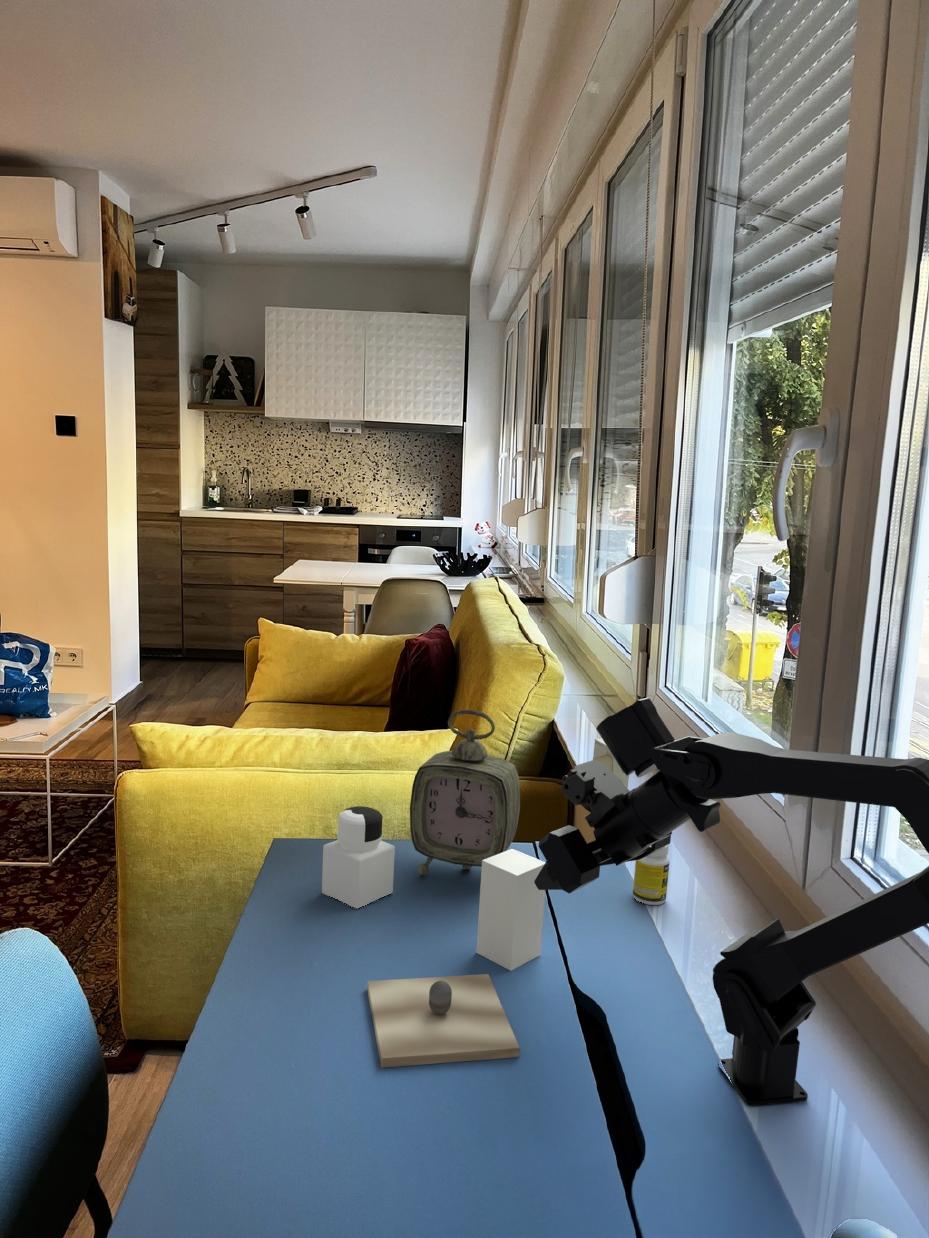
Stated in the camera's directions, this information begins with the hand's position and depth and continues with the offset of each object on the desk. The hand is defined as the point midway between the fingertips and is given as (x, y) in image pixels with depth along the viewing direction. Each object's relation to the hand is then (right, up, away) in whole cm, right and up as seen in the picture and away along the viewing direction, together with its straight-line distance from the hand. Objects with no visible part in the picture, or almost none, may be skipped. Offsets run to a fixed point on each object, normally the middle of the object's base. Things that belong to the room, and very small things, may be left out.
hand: (561, 874), depth 107 cm
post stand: (-14, -14, -8) cm, 21 cm away
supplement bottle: (+15, -10, +24) cm, 30 cm away
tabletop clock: (-11, -8, +29) cm, 32 cm away
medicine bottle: (-26, -9, +21) cm, 34 cm away
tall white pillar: (-6, -12, +7) cm, 15 cm away
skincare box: (+15, -5, +61) cm, 63 cm away
